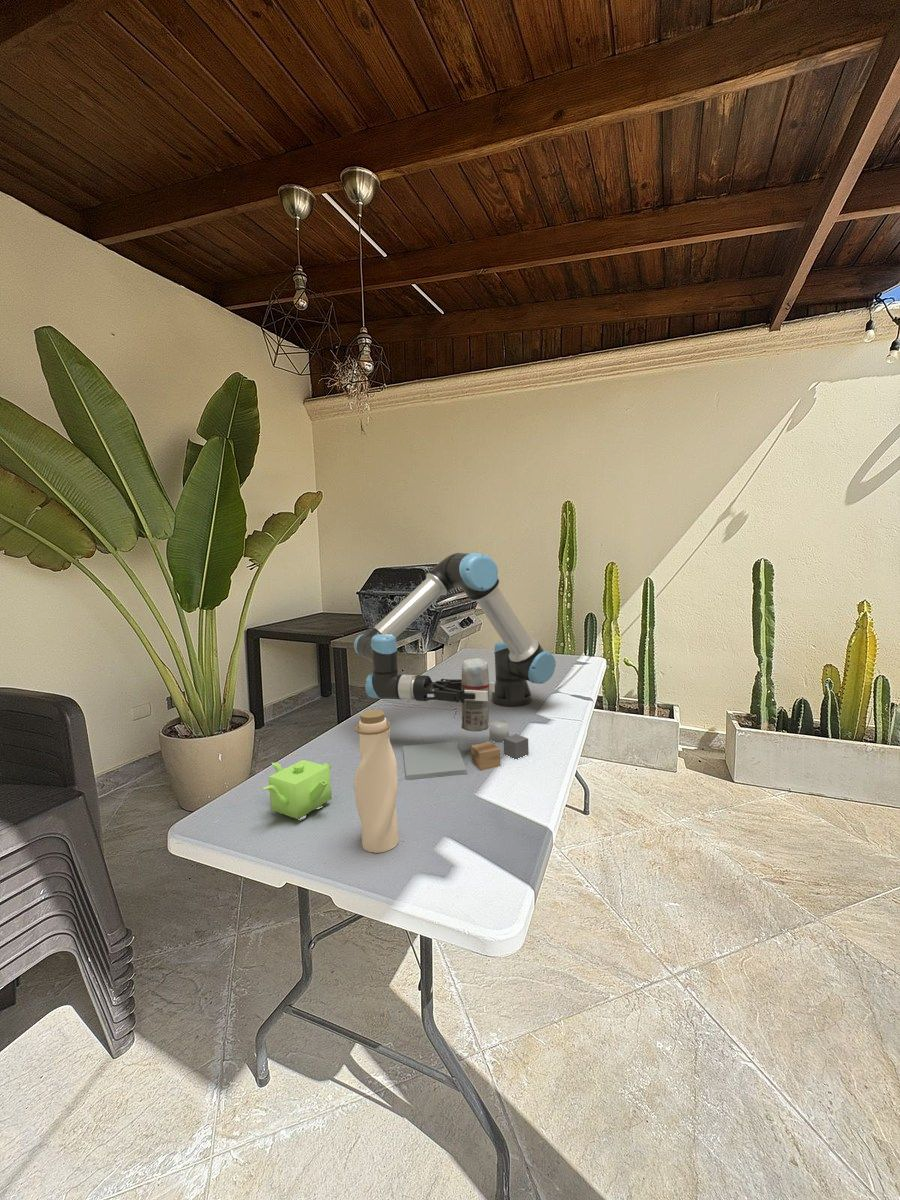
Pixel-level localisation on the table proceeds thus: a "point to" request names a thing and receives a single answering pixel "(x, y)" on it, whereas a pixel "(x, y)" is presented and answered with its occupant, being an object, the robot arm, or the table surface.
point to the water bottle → (376, 783)
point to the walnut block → (485, 755)
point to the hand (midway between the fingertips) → (490, 691)
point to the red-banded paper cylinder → (477, 679)
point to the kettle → (299, 788)
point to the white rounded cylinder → (498, 730)
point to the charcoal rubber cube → (516, 746)
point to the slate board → (433, 760)
